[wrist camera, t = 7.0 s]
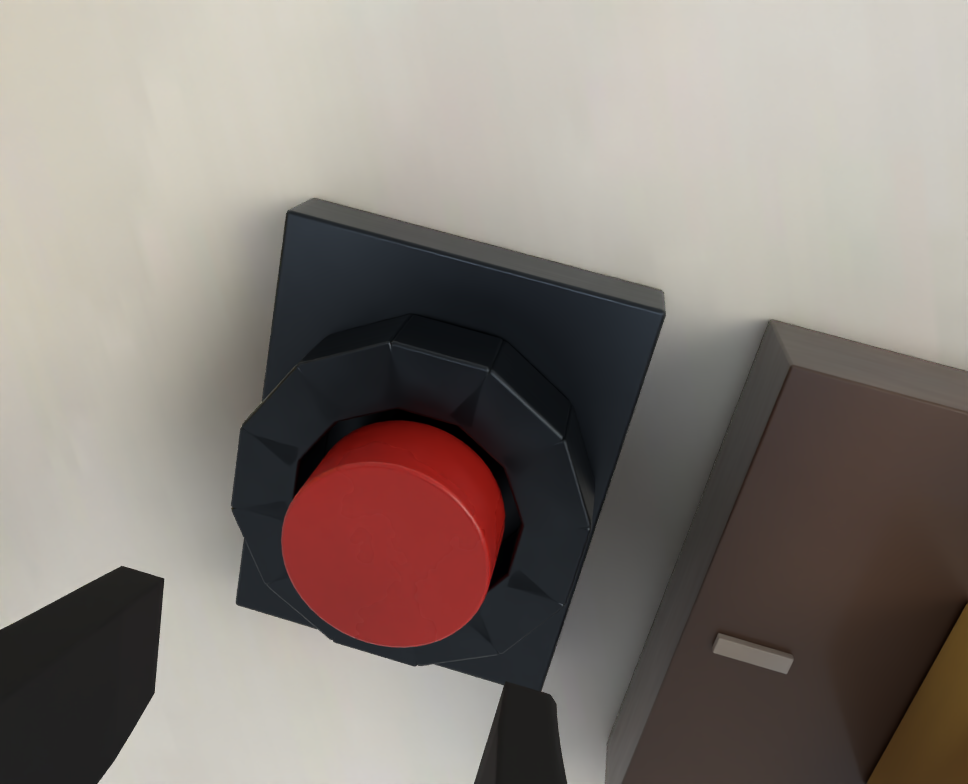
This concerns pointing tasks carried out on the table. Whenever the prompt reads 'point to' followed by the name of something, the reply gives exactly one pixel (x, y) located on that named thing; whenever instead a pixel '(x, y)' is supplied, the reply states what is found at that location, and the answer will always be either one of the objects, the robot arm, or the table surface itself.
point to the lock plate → (807, 574)
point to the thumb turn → (934, 723)
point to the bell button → (395, 534)
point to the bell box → (447, 407)
